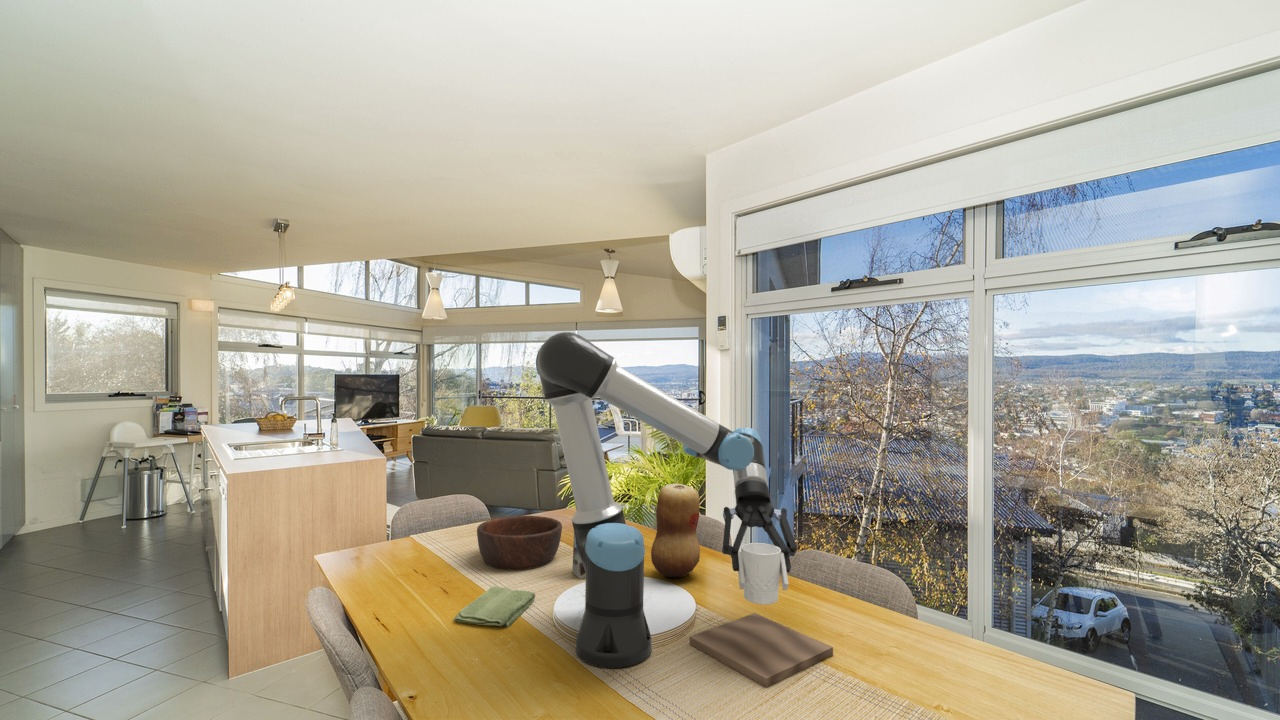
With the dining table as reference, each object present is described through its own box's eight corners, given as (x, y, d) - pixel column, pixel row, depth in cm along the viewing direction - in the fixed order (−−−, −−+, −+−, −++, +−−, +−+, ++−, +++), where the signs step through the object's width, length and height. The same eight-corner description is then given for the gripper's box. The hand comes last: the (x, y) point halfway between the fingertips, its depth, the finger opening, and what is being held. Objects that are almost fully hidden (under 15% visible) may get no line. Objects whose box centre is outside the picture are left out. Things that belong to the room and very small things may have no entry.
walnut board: (766, 687, 97) (766, 678, 97) (689, 643, 113) (689, 636, 113) (833, 654, 109) (832, 647, 109) (754, 619, 125) (754, 612, 125)
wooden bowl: (553, 574, 153) (554, 537, 153) (464, 573, 153) (465, 535, 153) (566, 548, 178) (567, 515, 178) (489, 546, 178) (490, 514, 178)
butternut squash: (685, 588, 143) (686, 491, 144) (641, 578, 150) (643, 486, 151) (708, 573, 155) (709, 484, 156) (666, 564, 162) (667, 479, 163)
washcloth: (450, 626, 120) (451, 610, 121) (491, 596, 138) (491, 583, 138) (505, 633, 117) (506, 617, 117) (539, 601, 134) (540, 588, 135)
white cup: (782, 608, 107) (782, 555, 107) (740, 604, 108) (740, 552, 109) (780, 592, 114) (780, 544, 115) (741, 589, 116) (741, 541, 116)
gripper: (794, 498, 127) (813, 596, 110) (705, 496, 128) (710, 593, 111) (800, 479, 122) (820, 579, 105) (706, 477, 123) (712, 576, 106)
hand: (763, 586), depth 108 cm, fingers closed on white cup, 8 cm apart
